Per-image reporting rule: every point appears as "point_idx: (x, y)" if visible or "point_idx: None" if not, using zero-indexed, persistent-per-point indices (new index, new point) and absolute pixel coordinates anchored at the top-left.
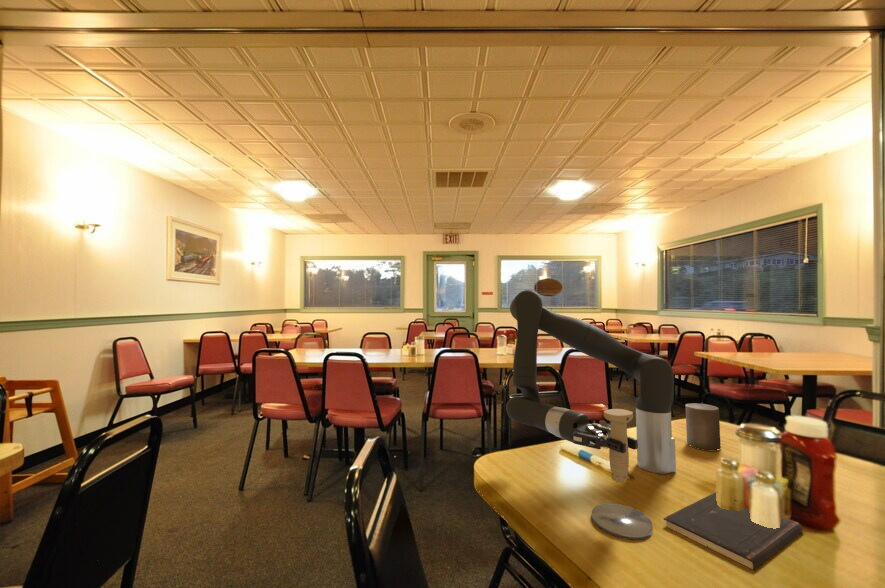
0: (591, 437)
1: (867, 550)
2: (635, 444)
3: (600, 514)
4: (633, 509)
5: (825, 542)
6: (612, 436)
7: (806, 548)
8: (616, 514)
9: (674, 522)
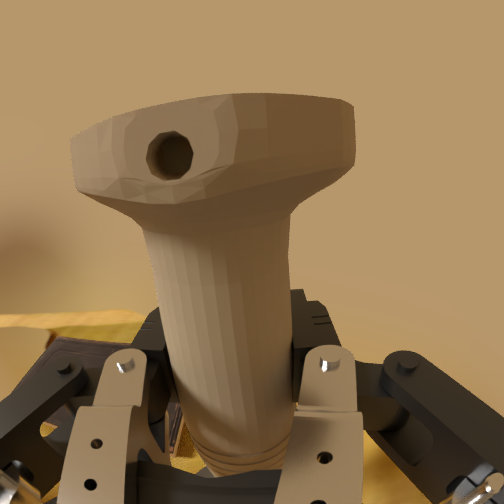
0: (452, 383)
1: (73, 315)
2: None
3: None
4: None
5: (75, 331)
6: (290, 326)
7: (100, 338)
8: None
9: (175, 432)
